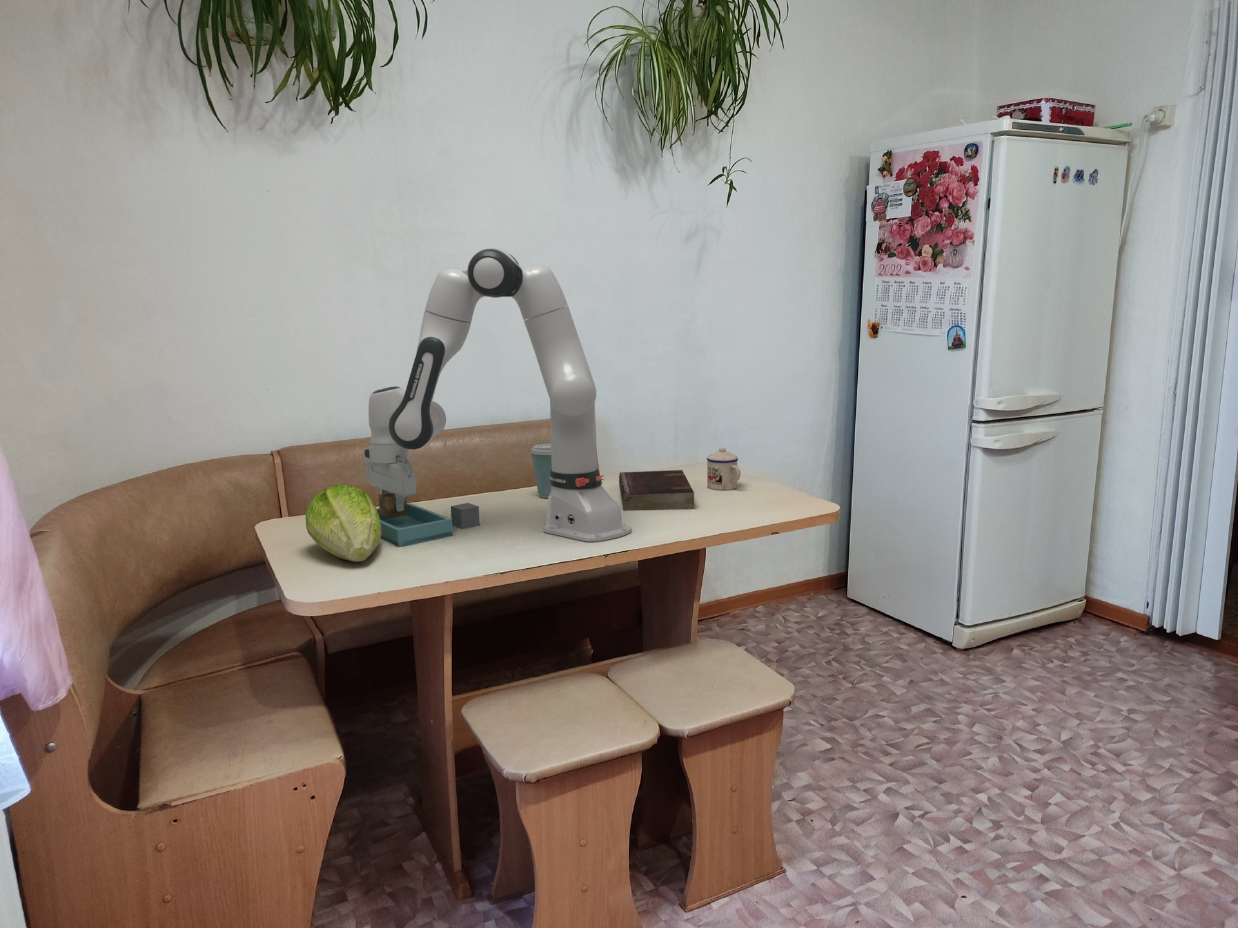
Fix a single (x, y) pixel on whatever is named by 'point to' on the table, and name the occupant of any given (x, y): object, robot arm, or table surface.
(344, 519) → the lettuce
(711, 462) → the teacup with lid
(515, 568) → the table surface
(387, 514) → the walnut block
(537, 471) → the disposable coffee cup
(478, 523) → the charcoal block
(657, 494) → the hardback book
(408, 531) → the teal tray
